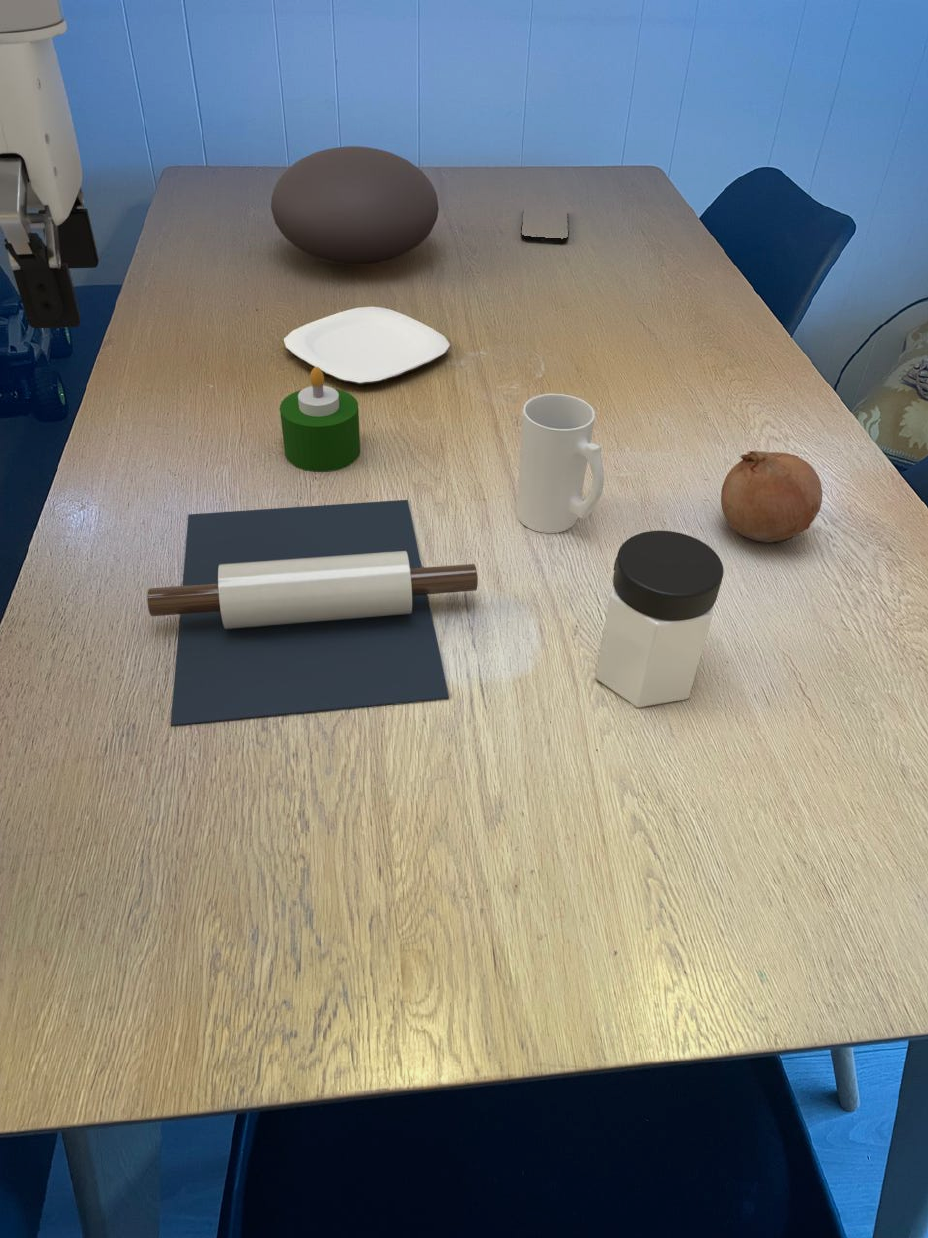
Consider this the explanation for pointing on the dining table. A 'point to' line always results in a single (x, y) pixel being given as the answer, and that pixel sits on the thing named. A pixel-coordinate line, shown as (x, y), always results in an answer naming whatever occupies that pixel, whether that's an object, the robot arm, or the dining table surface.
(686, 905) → the dining table surface
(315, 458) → the candle
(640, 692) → the jar
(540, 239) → the smartphone
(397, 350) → the plate
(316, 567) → the rolling pin
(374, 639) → the baking mat
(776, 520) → the onion
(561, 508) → the mug
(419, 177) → the smooth stone
